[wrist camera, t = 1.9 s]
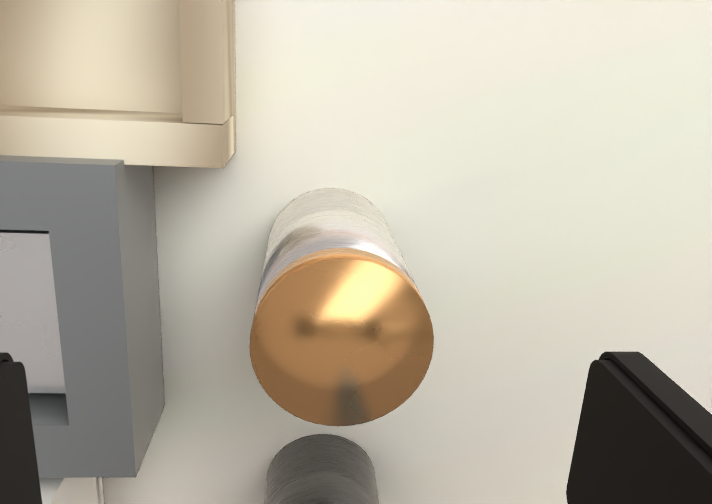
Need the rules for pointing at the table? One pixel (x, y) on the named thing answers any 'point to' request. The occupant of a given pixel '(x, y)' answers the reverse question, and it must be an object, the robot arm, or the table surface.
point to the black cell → (321, 473)
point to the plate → (30, 309)
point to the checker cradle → (94, 309)
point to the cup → (72, 490)
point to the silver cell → (338, 313)
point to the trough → (119, 80)
